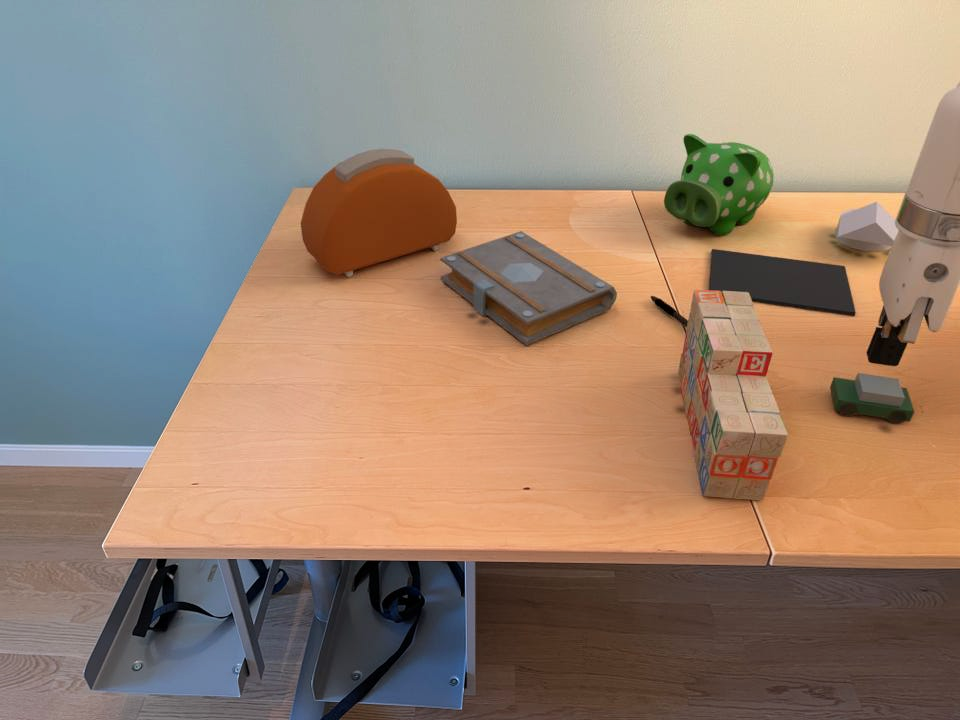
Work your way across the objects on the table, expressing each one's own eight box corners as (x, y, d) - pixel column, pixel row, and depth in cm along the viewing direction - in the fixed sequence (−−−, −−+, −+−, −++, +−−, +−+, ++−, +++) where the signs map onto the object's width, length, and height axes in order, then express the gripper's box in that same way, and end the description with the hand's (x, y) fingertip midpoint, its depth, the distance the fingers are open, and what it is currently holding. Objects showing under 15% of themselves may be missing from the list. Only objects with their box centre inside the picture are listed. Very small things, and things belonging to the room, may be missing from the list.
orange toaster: (432, 226, 122) (427, 130, 111) (459, 246, 115) (457, 147, 105) (305, 262, 111) (287, 160, 101) (327, 286, 105) (311, 180, 95)
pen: (723, 348, 92) (724, 341, 91) (713, 351, 91) (715, 344, 91) (656, 298, 102) (658, 291, 101) (647, 300, 101) (648, 294, 101)
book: (614, 309, 100) (618, 279, 97) (523, 348, 92) (525, 317, 89) (524, 252, 114) (525, 224, 111) (438, 282, 106) (437, 253, 103)
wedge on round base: (893, 267, 110) (893, 233, 119) (908, 228, 105) (907, 195, 115) (831, 255, 113) (836, 223, 122) (844, 217, 109) (848, 186, 118)
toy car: (910, 378, 81) (919, 402, 78) (899, 402, 83) (907, 426, 80) (837, 367, 83) (842, 390, 80) (828, 391, 85) (833, 414, 82)
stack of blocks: (764, 502, 71) (797, 411, 63) (701, 498, 71) (727, 406, 64) (727, 374, 88) (749, 289, 80) (676, 371, 88) (694, 287, 81)
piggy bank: (648, 225, 122) (662, 140, 112) (707, 196, 131) (724, 115, 122) (720, 254, 113) (741, 164, 104) (777, 220, 123) (801, 136, 114)
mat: (843, 269, 109) (844, 265, 109) (854, 316, 98) (856, 312, 98) (711, 251, 114) (712, 248, 113) (708, 295, 103) (708, 291, 103)
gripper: (1003, 255, 64) (929, 406, 75) (964, 190, 75) (905, 330, 86) (913, 245, 66) (854, 394, 77) (888, 184, 77) (840, 321, 88)
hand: (881, 360), depth 82 cm, fingers closed
